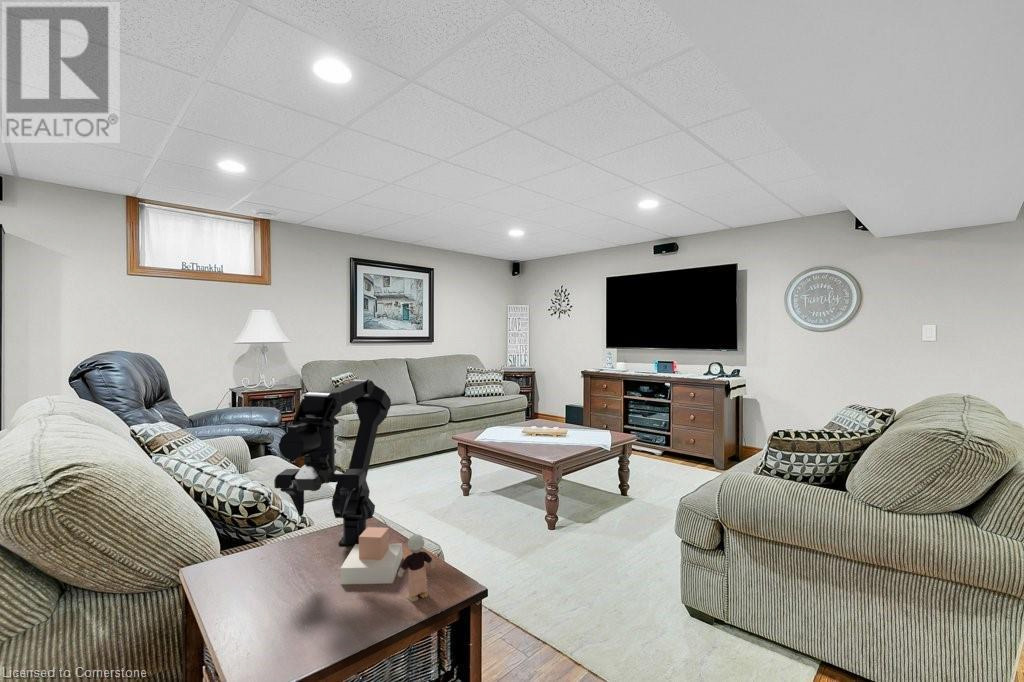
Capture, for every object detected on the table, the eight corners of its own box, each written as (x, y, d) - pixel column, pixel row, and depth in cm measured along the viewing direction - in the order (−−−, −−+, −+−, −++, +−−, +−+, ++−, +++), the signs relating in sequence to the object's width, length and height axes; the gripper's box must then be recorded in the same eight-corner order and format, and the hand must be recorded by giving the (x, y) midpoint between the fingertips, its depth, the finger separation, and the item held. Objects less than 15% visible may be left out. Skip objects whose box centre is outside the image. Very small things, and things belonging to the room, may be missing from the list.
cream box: (355, 560, 111) (355, 544, 111) (402, 559, 112) (402, 543, 112) (340, 586, 100) (340, 568, 100) (392, 585, 101) (392, 567, 101)
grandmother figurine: (426, 585, 100) (426, 526, 99) (437, 593, 97) (436, 532, 97) (394, 600, 94) (393, 538, 94) (404, 608, 92) (404, 544, 91)
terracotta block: (367, 548, 109) (367, 527, 109) (388, 549, 109) (388, 527, 109) (359, 558, 104) (358, 536, 104) (380, 559, 104) (380, 537, 104)
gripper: (260, 457, 98) (261, 531, 99) (350, 457, 98) (350, 531, 99) (285, 444, 109) (286, 510, 110) (366, 444, 110) (366, 510, 110)
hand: (321, 515), depth 107 cm, fingers open, 9 cm apart
